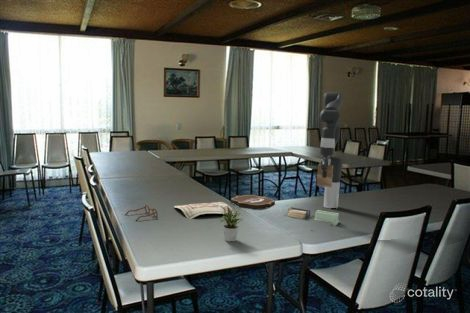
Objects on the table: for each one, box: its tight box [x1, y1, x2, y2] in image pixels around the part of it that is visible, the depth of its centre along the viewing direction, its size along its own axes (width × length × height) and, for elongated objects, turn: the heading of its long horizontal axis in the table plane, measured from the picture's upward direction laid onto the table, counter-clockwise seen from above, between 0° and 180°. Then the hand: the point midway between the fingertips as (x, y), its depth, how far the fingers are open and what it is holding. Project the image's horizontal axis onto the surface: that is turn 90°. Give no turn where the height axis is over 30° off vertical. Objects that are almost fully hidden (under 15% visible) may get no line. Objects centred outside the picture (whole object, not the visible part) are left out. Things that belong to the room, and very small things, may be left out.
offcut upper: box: [287, 210, 306, 216], centre depth 213 cm, size 5×9×2 cm, turn 68°
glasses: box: [124, 204, 158, 222], centre depth 201 cm, size 13×13×5 cm
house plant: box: [217, 205, 246, 242], centre depth 171 cm, size 14×14×16 cm
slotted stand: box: [313, 209, 340, 227], centre depth 211 cm, size 8×12×6 cm, turn 64°
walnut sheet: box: [316, 163, 334, 188], centre depth 210 cm, size 2×8×12 cm, turn 63°
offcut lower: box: [288, 214, 306, 220], centre depth 214 cm, size 5×9×2 cm, turn 64°
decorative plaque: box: [230, 194, 276, 210], centre depth 246 cm, size 30×3×30 cm
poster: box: [173, 201, 236, 220], centre depth 219 cm, size 28×6×30 cm
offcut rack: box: [282, 206, 313, 221], centre depth 216 cm, size 12×14×4 cm
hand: (324, 177), depth 210 cm, fingers closed on walnut sheet, 1 cm apart
